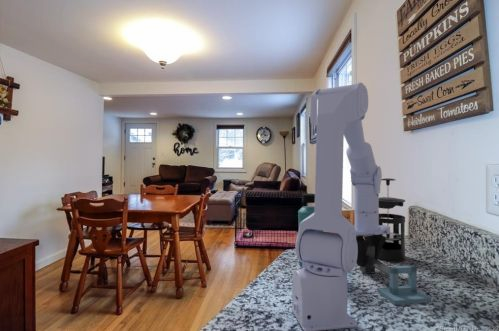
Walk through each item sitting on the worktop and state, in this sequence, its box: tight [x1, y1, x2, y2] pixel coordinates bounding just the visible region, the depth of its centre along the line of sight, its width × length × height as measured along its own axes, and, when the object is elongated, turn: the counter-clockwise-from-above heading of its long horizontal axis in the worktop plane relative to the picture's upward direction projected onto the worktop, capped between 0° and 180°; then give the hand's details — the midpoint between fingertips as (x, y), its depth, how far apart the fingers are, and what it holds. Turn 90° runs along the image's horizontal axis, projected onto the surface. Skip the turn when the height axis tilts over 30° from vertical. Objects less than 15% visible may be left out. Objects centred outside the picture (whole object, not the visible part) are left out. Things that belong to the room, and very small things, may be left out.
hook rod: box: [359, 244, 400, 278], centre depth 71 cm, size 13×3×7 cm, turn 8°
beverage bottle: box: [297, 193, 323, 269], centre depth 76 cm, size 6×7×20 cm
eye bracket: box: [376, 264, 432, 306], centre depth 62 cm, size 6×8×6 cm
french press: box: [377, 177, 407, 263], centre depth 88 cm, size 12×9×23 cm
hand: (366, 264), depth 76 cm, fingers open, 3 cm apart
